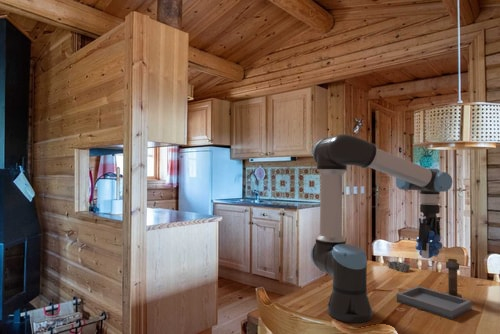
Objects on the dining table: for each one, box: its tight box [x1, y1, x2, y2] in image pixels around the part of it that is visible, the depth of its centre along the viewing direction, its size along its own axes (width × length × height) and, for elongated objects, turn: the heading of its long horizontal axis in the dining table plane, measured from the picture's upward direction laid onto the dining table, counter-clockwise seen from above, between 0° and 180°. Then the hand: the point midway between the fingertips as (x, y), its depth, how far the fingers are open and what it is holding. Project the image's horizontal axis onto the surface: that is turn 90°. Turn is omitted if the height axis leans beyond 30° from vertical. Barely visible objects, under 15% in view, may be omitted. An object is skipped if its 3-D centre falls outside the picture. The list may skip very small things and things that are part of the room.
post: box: [444, 258, 463, 298], centre depth 132 cm, size 6×6×16 cm
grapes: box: [415, 231, 443, 259], centre depth 142 cm, size 12×7×12 cm, turn 30°
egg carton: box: [386, 260, 411, 273], centre depth 174 cm, size 11×8×4 cm
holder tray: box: [396, 285, 473, 321], centre depth 125 cm, size 16×20×3 cm
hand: (429, 257), depth 142 cm, fingers closed on grapes, 7 cm apart
